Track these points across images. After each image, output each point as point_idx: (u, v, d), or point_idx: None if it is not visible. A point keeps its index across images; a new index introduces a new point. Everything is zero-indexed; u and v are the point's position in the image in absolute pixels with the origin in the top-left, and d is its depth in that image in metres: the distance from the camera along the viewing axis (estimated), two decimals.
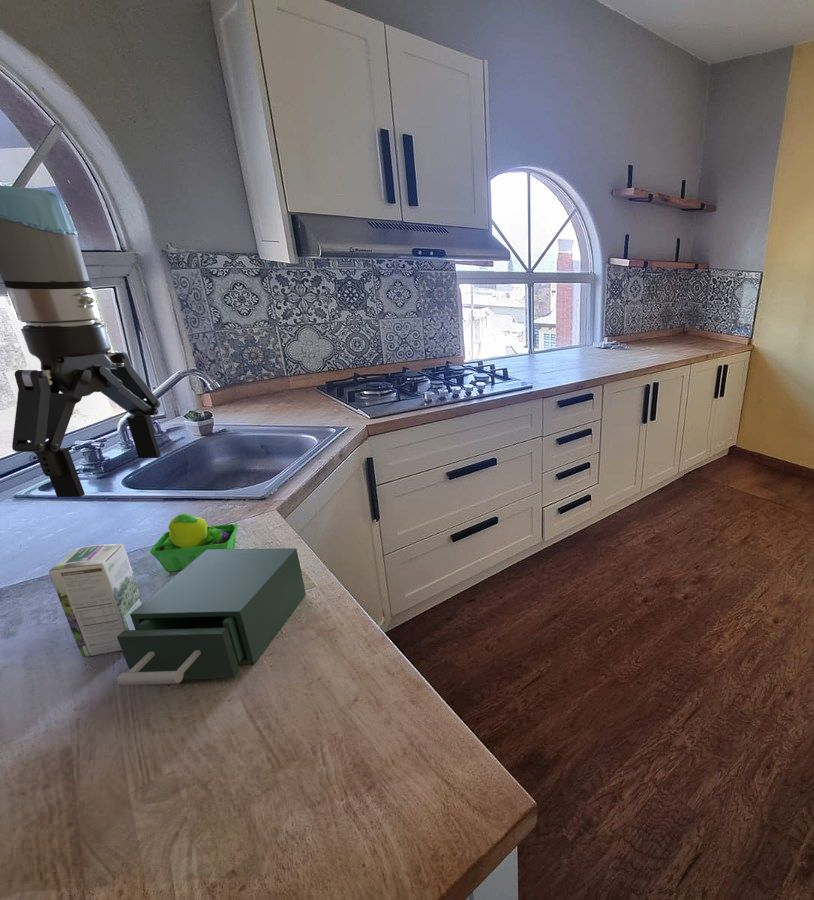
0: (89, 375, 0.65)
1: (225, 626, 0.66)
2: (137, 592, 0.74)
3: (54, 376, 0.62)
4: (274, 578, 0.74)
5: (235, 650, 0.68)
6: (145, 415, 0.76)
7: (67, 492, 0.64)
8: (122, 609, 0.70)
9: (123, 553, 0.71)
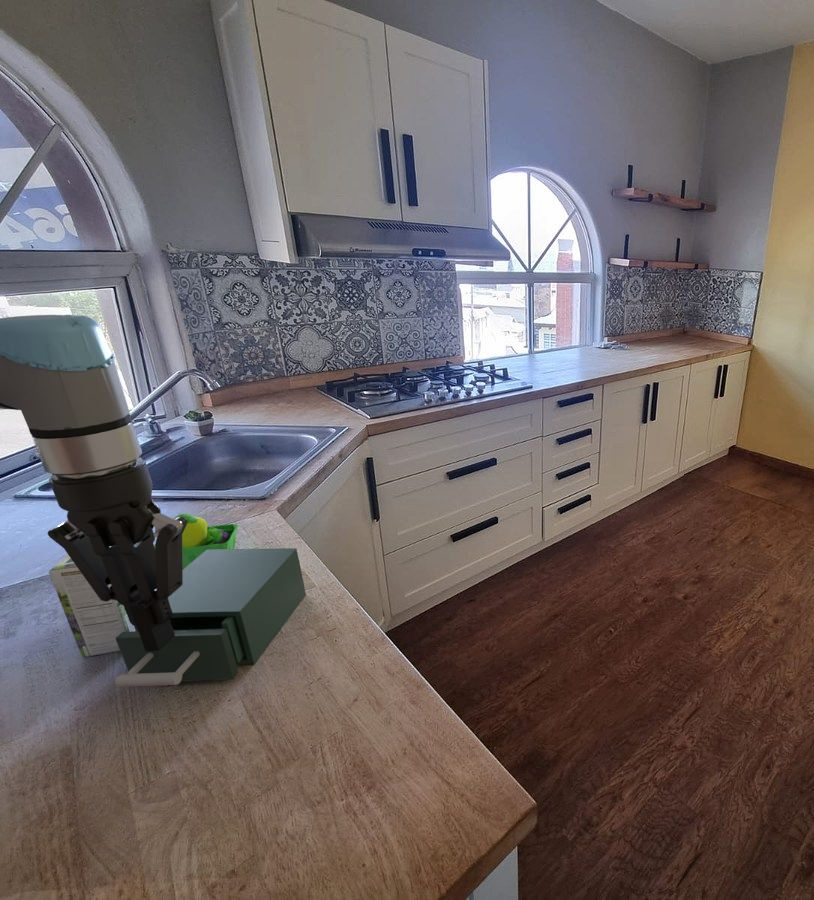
0: None
1: (224, 627, 0.66)
2: None
3: None
4: (274, 578, 0.74)
5: (234, 651, 0.67)
6: None
7: (165, 638, 0.61)
8: (122, 609, 0.70)
9: None
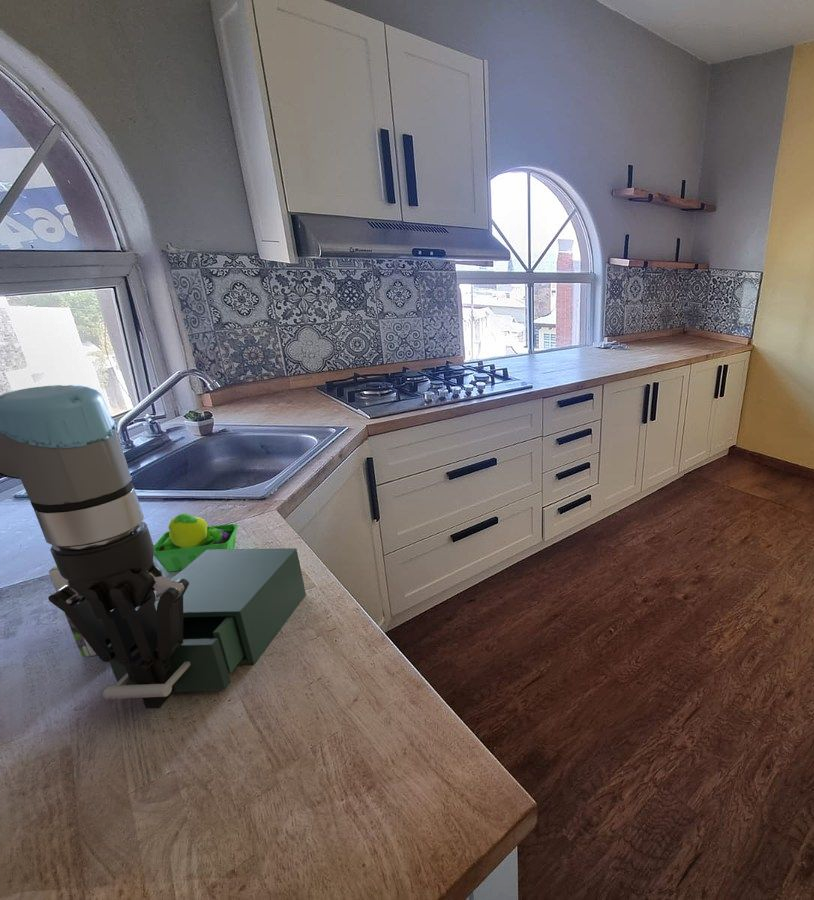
0: None
1: (216, 636, 0.64)
2: None
3: None
4: (274, 578, 0.74)
5: (226, 661, 0.66)
6: None
7: None
8: None
9: None
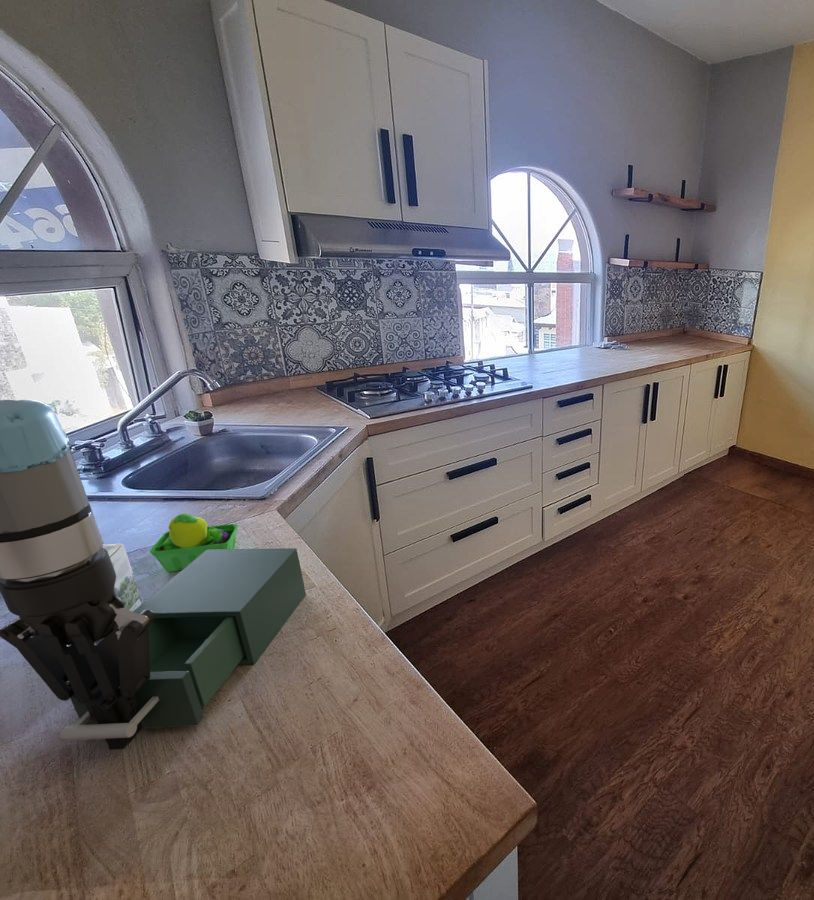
0: None
1: (187, 668, 0.59)
2: (137, 592, 0.74)
3: None
4: (274, 578, 0.74)
5: (199, 694, 0.61)
6: None
7: None
8: None
9: (123, 553, 0.71)
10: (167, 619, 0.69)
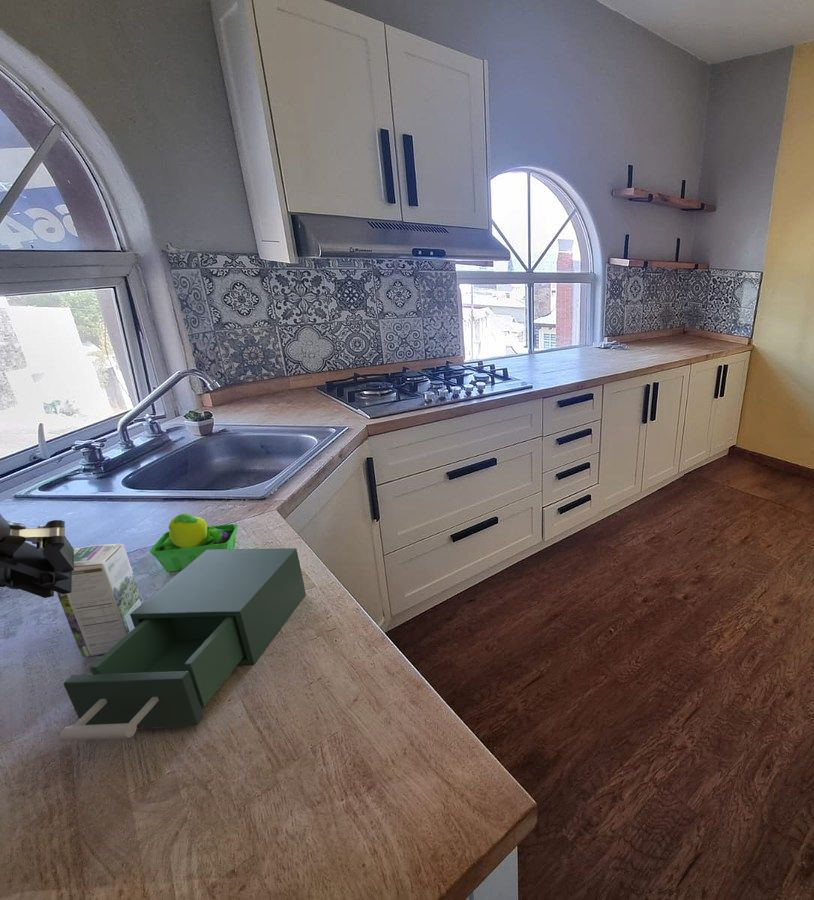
0: None
1: (187, 668, 0.59)
2: (137, 592, 0.74)
3: None
4: (274, 578, 0.74)
5: (199, 694, 0.61)
6: None
7: (68, 580, 0.60)
8: (122, 609, 0.70)
9: (123, 553, 0.71)
10: (167, 619, 0.69)
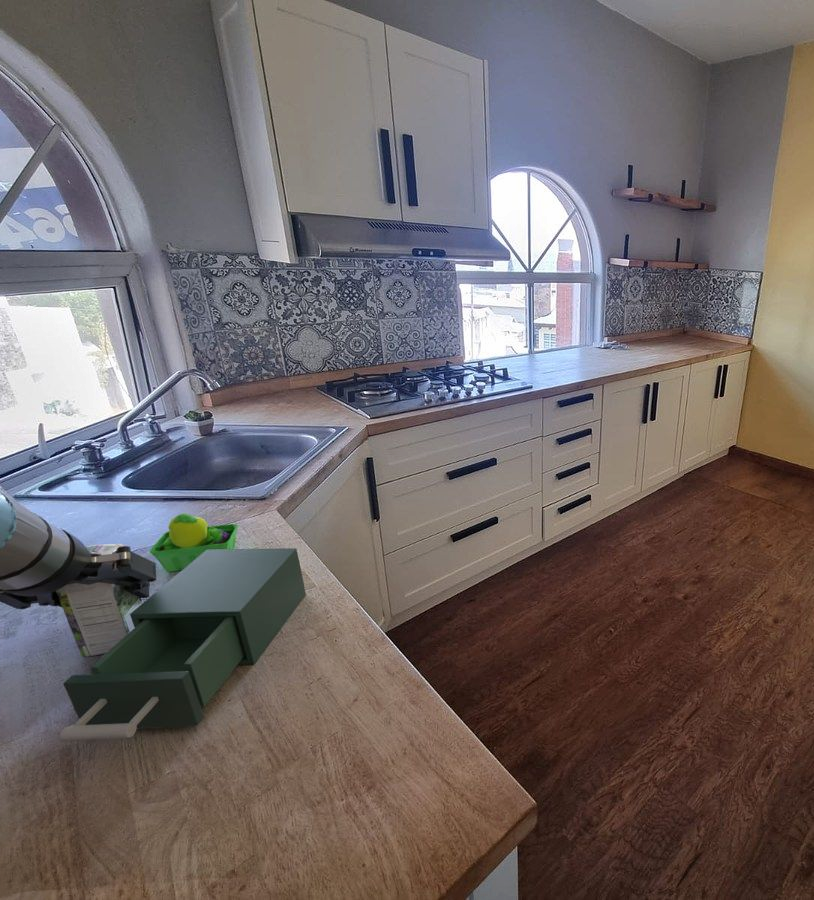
0: None
1: (187, 668, 0.59)
2: None
3: None
4: (274, 578, 0.74)
5: (199, 694, 0.61)
6: None
7: (147, 586, 0.75)
8: (122, 609, 0.70)
9: None
10: (167, 619, 0.69)
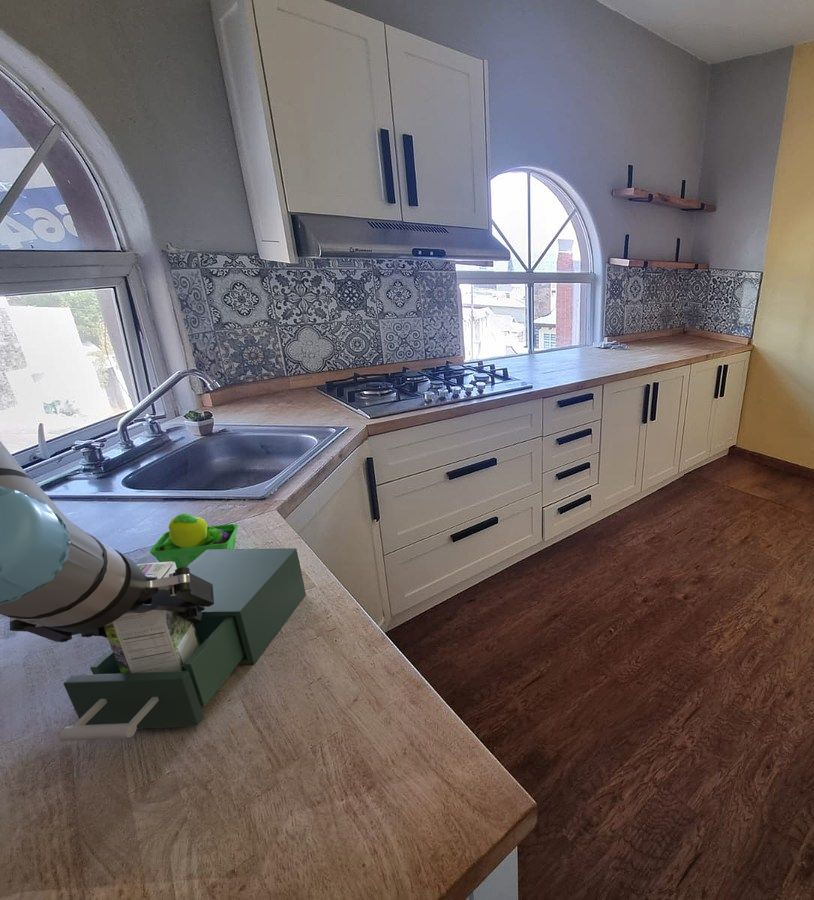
0: None
1: (187, 668, 0.59)
2: None
3: None
4: (274, 578, 0.74)
5: (199, 694, 0.61)
6: None
7: None
8: (175, 639, 0.60)
9: None
10: None
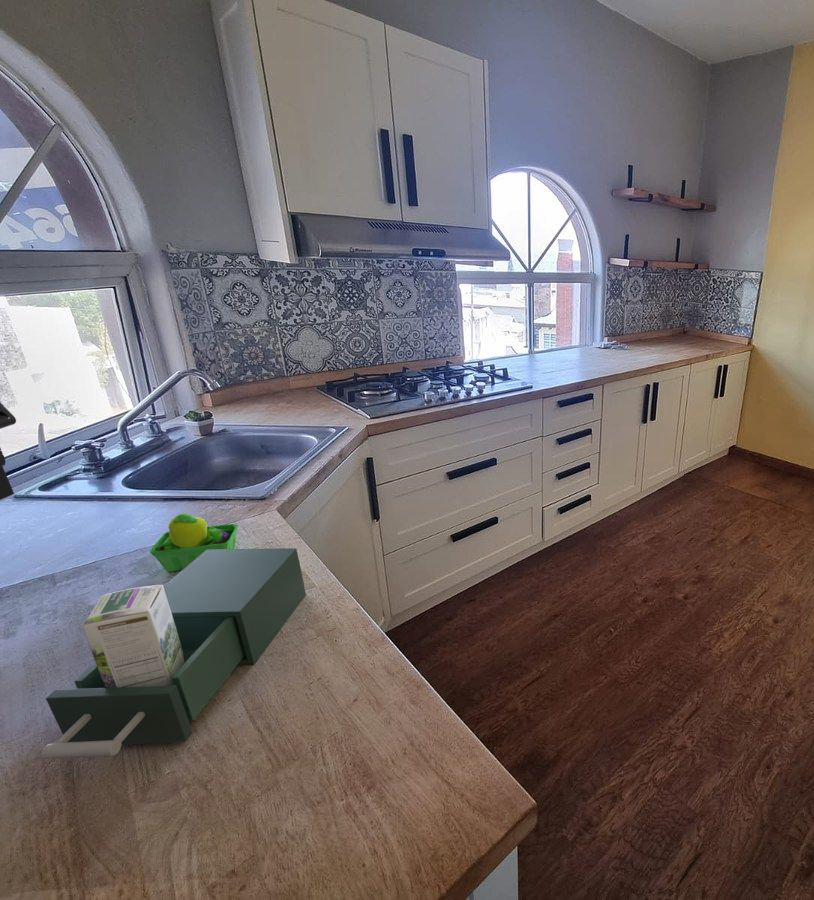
0: None
1: (175, 682, 0.57)
2: (178, 640, 0.62)
3: None
4: (274, 578, 0.74)
5: (188, 708, 0.59)
6: None
7: None
8: (168, 663, 0.58)
9: (163, 596, 0.60)
10: None
